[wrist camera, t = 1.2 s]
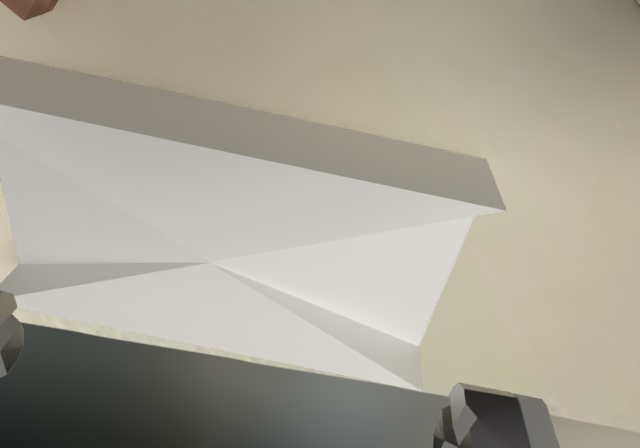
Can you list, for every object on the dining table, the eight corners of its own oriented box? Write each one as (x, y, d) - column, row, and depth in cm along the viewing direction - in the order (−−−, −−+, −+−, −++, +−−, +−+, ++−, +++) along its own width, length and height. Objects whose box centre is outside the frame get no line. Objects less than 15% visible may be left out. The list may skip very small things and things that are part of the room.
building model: (37, 245, 58) (-18, 301, 50) (2, 54, 45) (-77, 89, 37) (417, 323, 58) (422, 391, 50) (485, 156, 46) (506, 211, 38)
